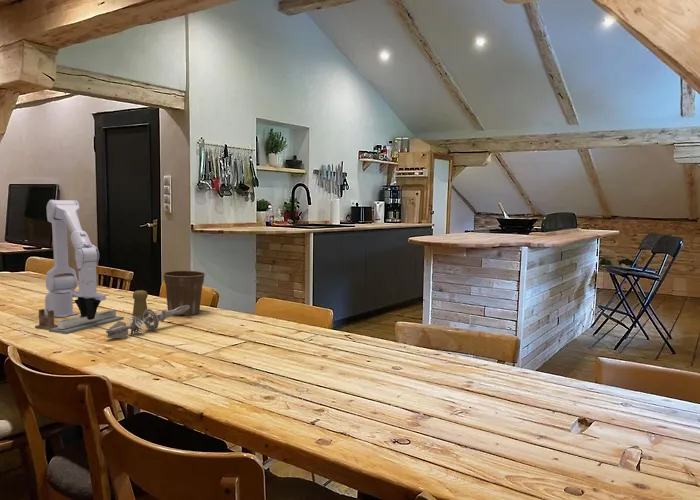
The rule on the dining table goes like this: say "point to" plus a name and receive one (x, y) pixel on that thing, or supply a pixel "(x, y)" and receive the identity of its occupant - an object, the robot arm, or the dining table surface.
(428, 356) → the dining table surface
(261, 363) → the dining table surface
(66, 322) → the steel rail
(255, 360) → the dining table surface
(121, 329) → the spaceship
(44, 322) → the cradle rack
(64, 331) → the long grey plate
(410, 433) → the dining table surface
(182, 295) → the plant pot
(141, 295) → the cork
